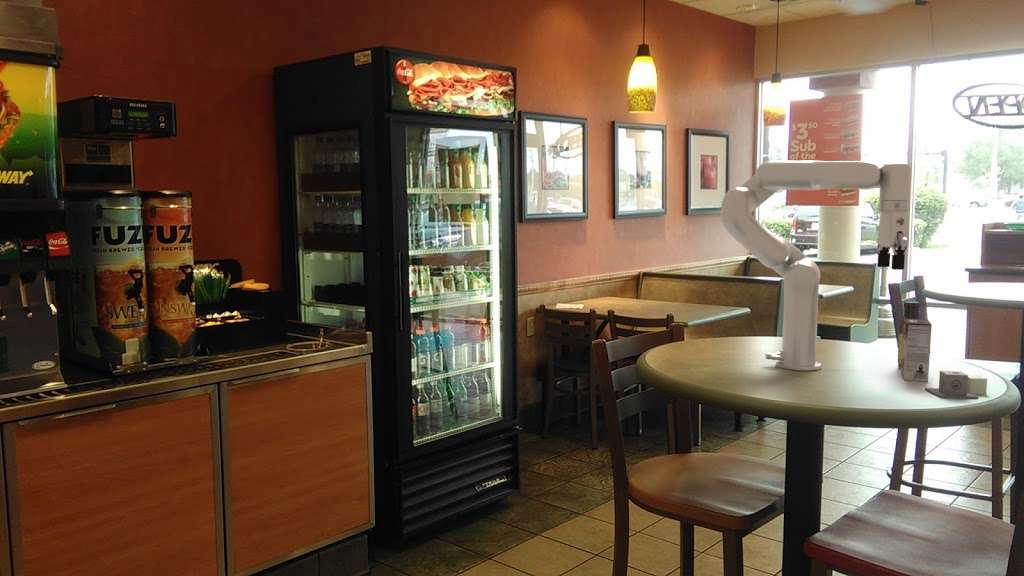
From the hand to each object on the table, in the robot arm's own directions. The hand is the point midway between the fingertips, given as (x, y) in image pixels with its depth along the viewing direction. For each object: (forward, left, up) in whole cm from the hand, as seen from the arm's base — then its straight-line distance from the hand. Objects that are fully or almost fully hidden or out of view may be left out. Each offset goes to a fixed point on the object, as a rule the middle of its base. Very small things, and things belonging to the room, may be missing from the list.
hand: (890, 268), depth 226 cm
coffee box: (+6, -5, -31) cm, 31 cm away
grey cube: (+7, -25, -30) cm, 40 cm away
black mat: (+7, -25, -30) cm, 40 cm away
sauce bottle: (+10, +8, -31) cm, 33 cm away
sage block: (+14, -22, -30) cm, 40 cm away
